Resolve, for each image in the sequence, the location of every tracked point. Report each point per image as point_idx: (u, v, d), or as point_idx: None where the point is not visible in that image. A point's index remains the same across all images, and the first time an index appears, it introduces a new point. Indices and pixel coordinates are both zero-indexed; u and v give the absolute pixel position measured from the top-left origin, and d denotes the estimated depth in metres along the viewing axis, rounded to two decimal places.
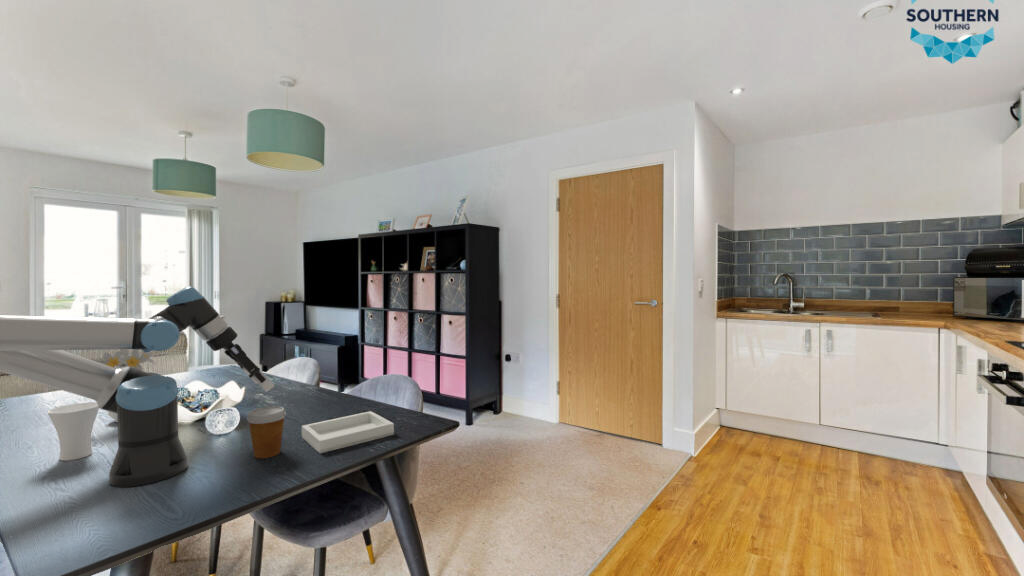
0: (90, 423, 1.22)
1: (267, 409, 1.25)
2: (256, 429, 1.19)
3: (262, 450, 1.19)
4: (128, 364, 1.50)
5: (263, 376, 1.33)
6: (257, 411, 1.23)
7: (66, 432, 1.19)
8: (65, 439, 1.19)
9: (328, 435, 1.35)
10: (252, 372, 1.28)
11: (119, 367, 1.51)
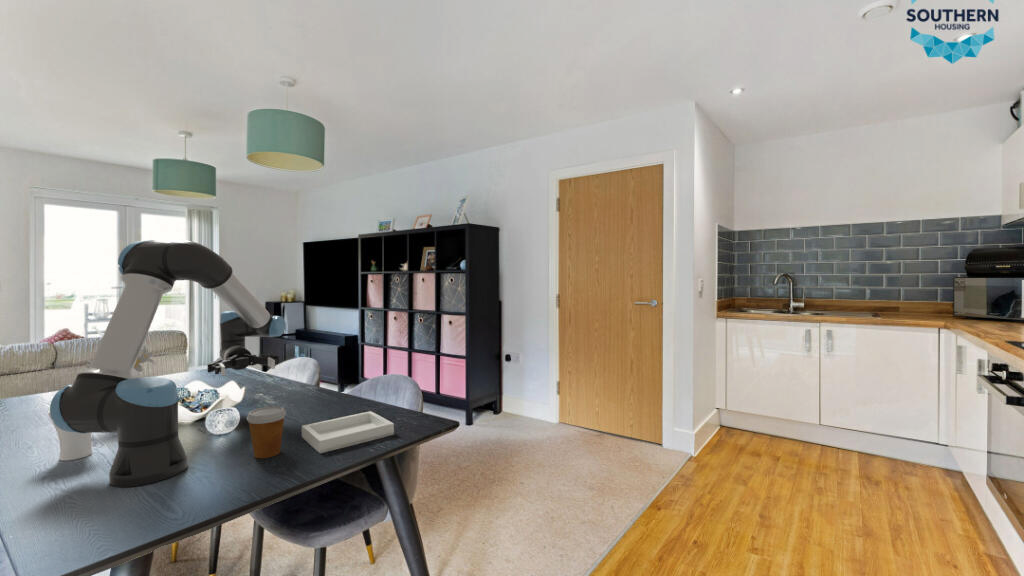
0: None
1: (267, 409, 1.25)
2: (256, 429, 1.19)
3: (262, 450, 1.19)
4: None
5: None
6: (257, 411, 1.23)
7: (66, 432, 1.19)
8: (65, 439, 1.19)
9: (328, 435, 1.35)
10: None
11: None
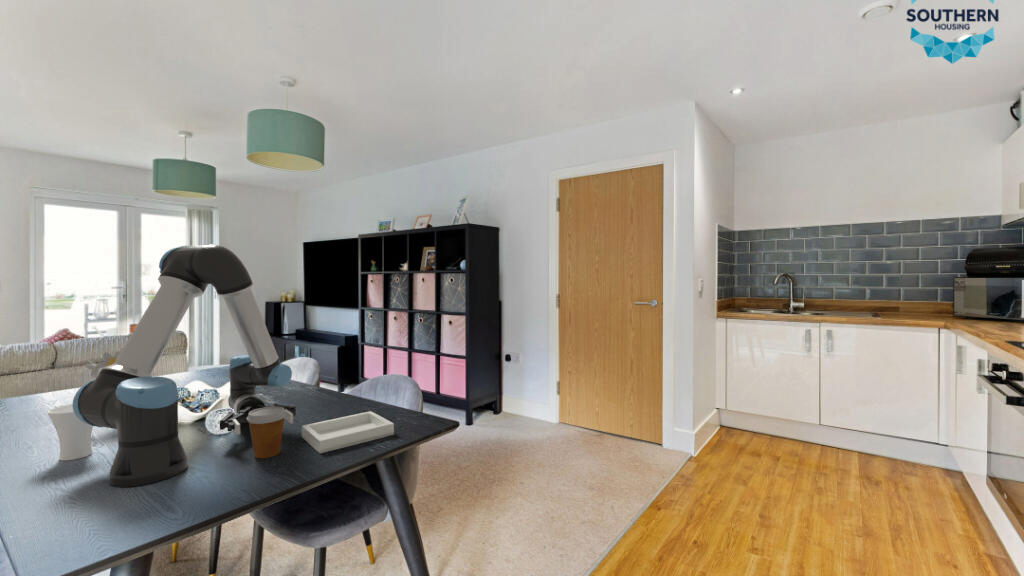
0: None
1: (267, 409, 1.25)
2: (256, 429, 1.19)
3: (262, 450, 1.19)
4: None
5: None
6: (257, 411, 1.23)
7: (66, 432, 1.19)
8: (65, 439, 1.19)
9: (328, 435, 1.35)
10: None
11: None
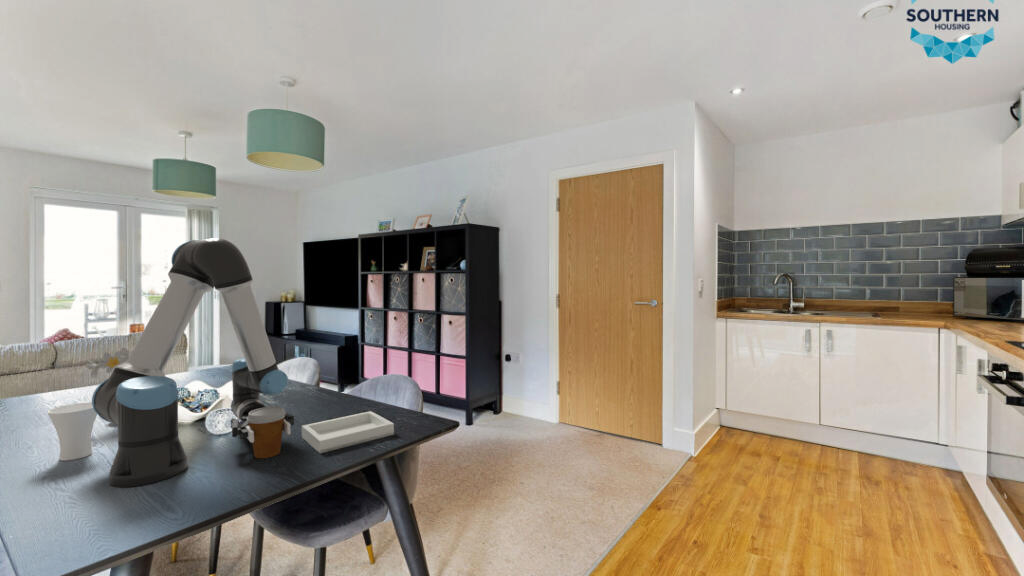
0: (90, 423, 1.22)
1: (267, 409, 1.25)
2: (256, 429, 1.19)
3: (262, 450, 1.19)
4: None
5: None
6: (257, 411, 1.23)
7: (66, 432, 1.19)
8: (65, 439, 1.19)
9: (328, 435, 1.35)
10: None
11: None
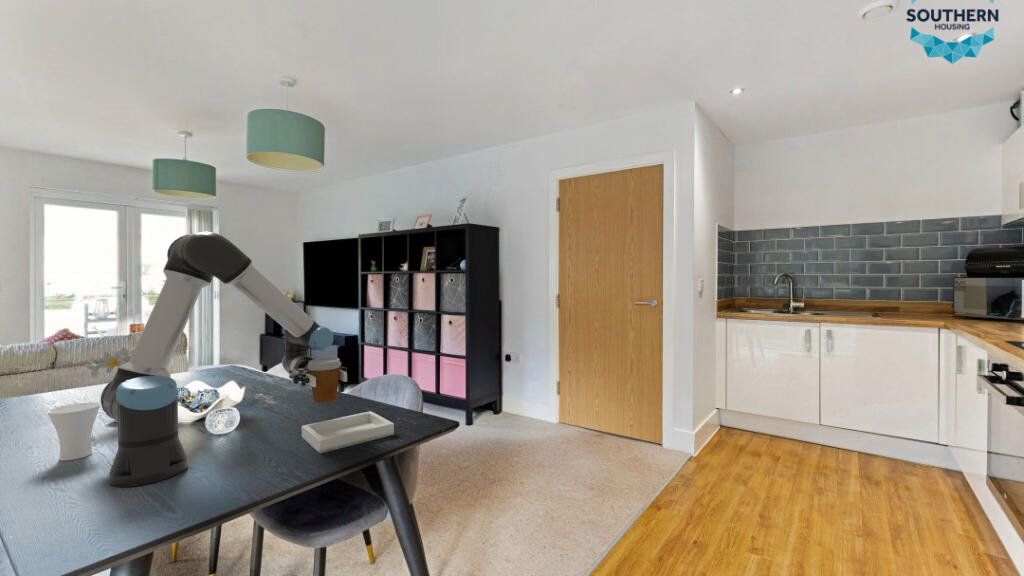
0: (90, 423, 1.22)
1: (323, 359, 1.35)
2: (317, 376, 1.29)
3: (322, 395, 1.30)
4: None
5: None
6: (315, 361, 1.33)
7: (66, 432, 1.19)
8: (65, 439, 1.19)
9: (328, 435, 1.35)
10: None
11: None
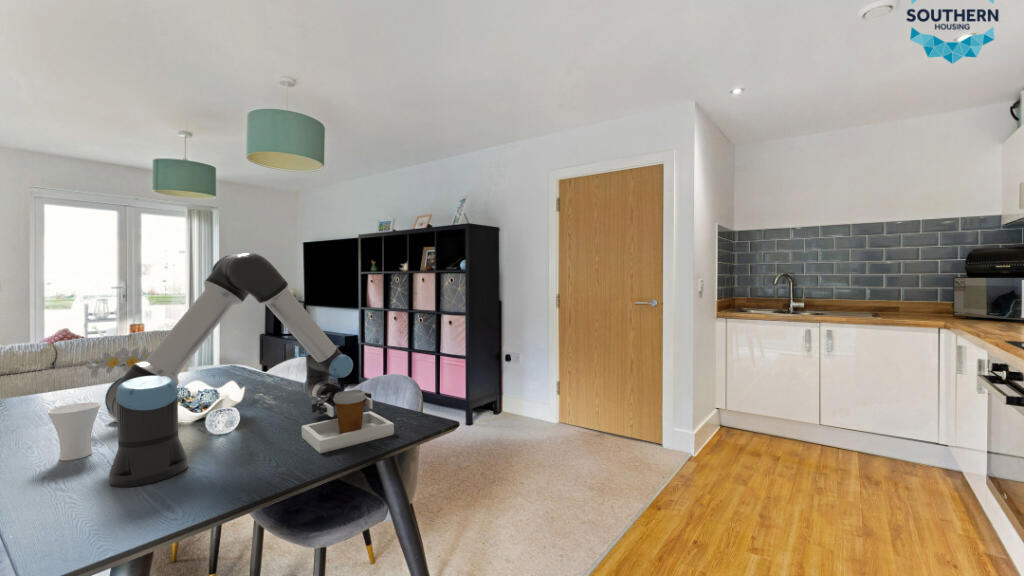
0: (90, 423, 1.22)
1: (348, 392, 1.40)
2: (343, 409, 1.33)
3: (348, 427, 1.34)
4: (128, 364, 1.50)
5: None
6: (340, 394, 1.38)
7: (66, 432, 1.19)
8: (65, 439, 1.19)
9: (328, 435, 1.35)
10: None
11: (119, 367, 1.51)
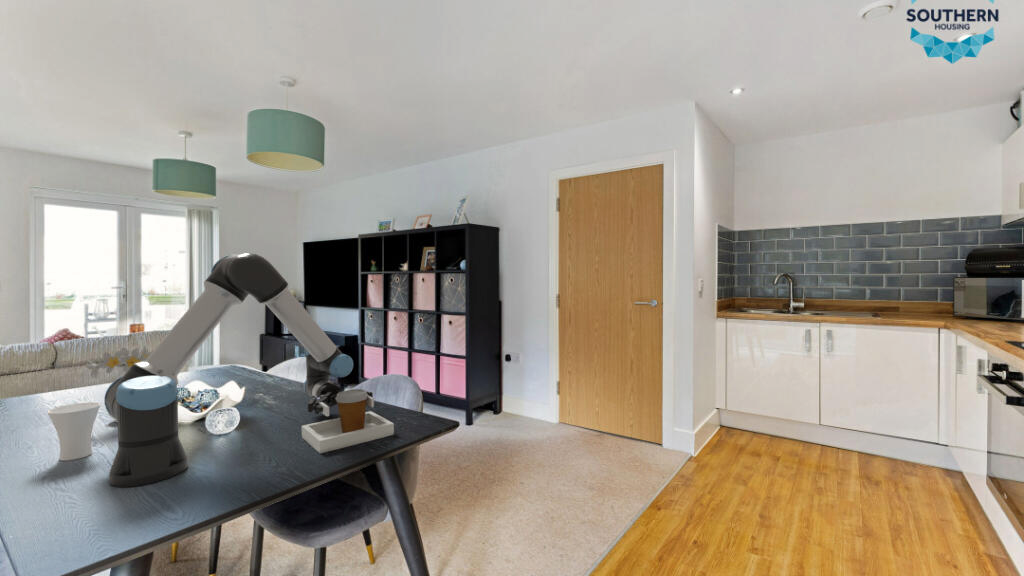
0: (90, 423, 1.22)
1: (350, 391, 1.40)
2: (346, 408, 1.34)
3: (352, 426, 1.35)
4: (128, 364, 1.50)
5: None
6: (342, 393, 1.38)
7: (66, 432, 1.19)
8: (65, 439, 1.19)
9: (328, 435, 1.35)
10: None
11: (119, 367, 1.51)
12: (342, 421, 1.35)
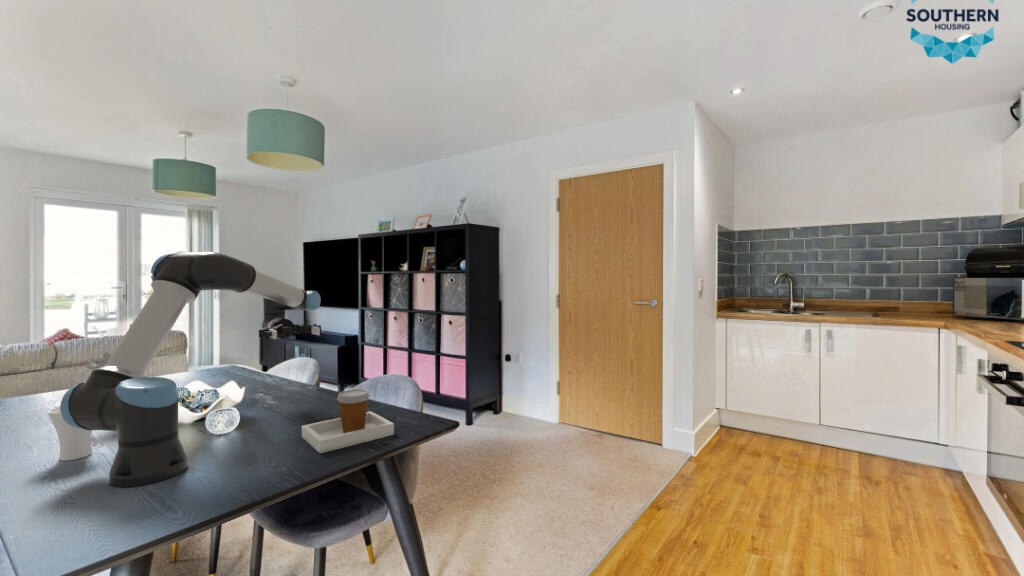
0: None
1: (350, 392, 1.40)
2: (349, 408, 1.34)
3: (353, 426, 1.35)
4: None
5: None
6: (343, 393, 1.38)
7: (66, 432, 1.19)
8: (65, 439, 1.19)
9: (328, 435, 1.35)
10: None
11: None
12: (343, 421, 1.35)
